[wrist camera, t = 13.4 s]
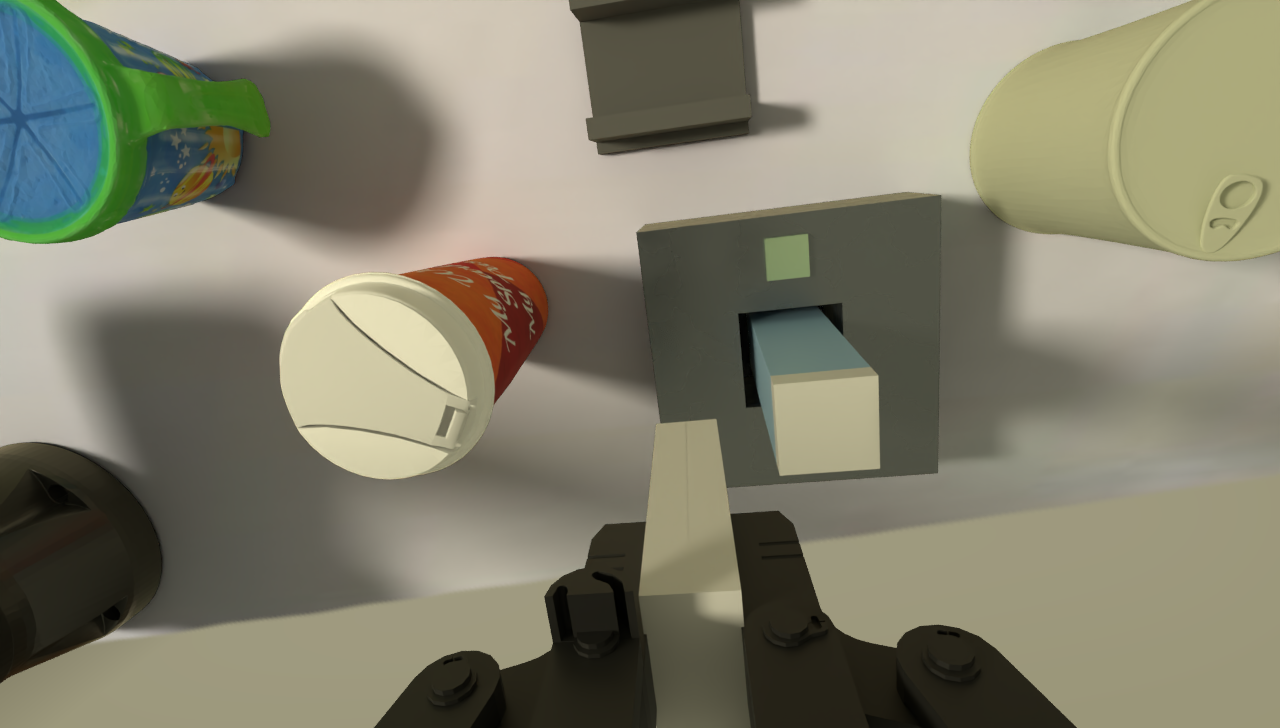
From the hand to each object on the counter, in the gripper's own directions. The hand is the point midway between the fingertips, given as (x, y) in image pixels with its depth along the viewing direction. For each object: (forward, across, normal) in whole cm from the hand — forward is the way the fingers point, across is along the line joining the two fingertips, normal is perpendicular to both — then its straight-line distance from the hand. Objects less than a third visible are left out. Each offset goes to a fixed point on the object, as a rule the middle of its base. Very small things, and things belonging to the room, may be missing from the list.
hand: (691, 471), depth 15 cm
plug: (+21, +5, -2) cm, 22 cm away
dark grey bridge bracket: (+21, 0, +13) cm, 25 cm away
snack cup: (+22, -27, +13) cm, 37 cm away
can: (+21, +20, +6) cm, 29 cm away
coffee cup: (+22, -11, +1) cm, 24 cm away
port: (+21, +5, -2) cm, 22 cm away
